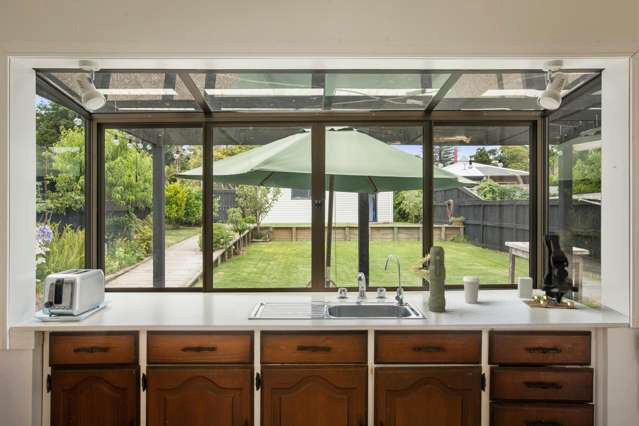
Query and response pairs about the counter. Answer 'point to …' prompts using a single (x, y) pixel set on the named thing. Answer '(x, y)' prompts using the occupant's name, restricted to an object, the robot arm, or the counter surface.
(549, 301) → the steel nut
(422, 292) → the counter surface
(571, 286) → the robot arm
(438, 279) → the green bumpy column
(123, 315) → the counter surface
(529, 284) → the supplement box
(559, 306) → the walnut board
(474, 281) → the coffee cup
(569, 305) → the brass spacers
